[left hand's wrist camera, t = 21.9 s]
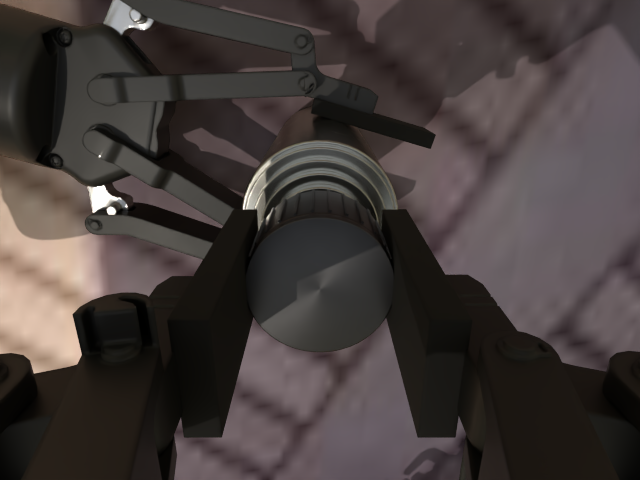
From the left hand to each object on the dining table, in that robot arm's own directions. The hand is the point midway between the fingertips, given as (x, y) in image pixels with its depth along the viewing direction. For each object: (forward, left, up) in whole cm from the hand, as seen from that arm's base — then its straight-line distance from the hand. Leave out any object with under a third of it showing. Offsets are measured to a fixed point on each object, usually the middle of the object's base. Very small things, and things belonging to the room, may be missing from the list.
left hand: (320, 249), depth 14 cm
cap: (0, 0, 0) cm, 0 cm away
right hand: (-5, 0, -11) cm, 13 cm away
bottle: (0, 0, -18) cm, 18 cm away
